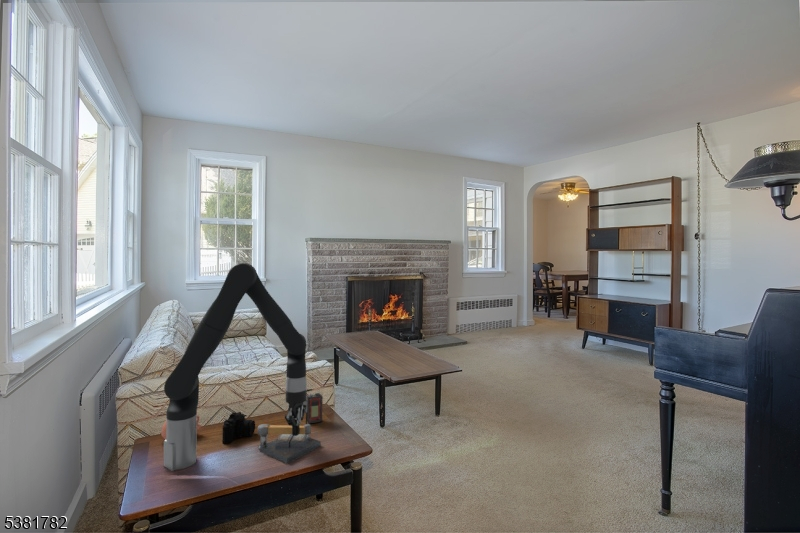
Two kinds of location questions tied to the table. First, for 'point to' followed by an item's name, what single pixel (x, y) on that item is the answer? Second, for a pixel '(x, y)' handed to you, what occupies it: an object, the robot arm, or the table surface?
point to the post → (262, 440)
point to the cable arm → (282, 429)
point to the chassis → (290, 447)
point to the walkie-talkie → (313, 408)
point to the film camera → (237, 427)
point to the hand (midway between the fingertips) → (295, 434)
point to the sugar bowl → (166, 428)
